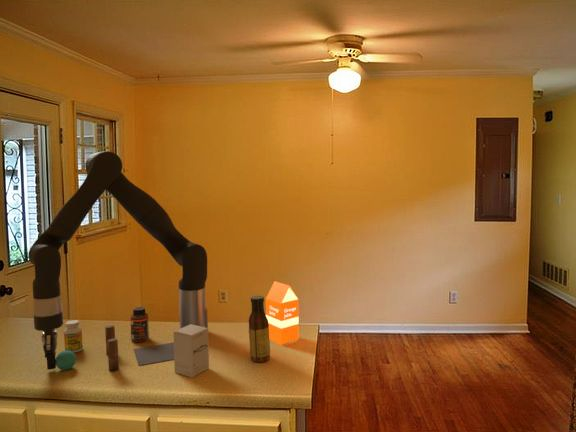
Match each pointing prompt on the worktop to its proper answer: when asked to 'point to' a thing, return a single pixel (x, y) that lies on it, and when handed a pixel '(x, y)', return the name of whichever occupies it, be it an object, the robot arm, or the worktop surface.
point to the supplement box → (191, 350)
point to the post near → (113, 355)
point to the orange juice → (282, 313)
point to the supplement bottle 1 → (73, 336)
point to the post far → (109, 334)
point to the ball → (65, 360)
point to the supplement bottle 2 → (139, 325)
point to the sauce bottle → (259, 331)
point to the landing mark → (154, 354)
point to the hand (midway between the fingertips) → (51, 368)
